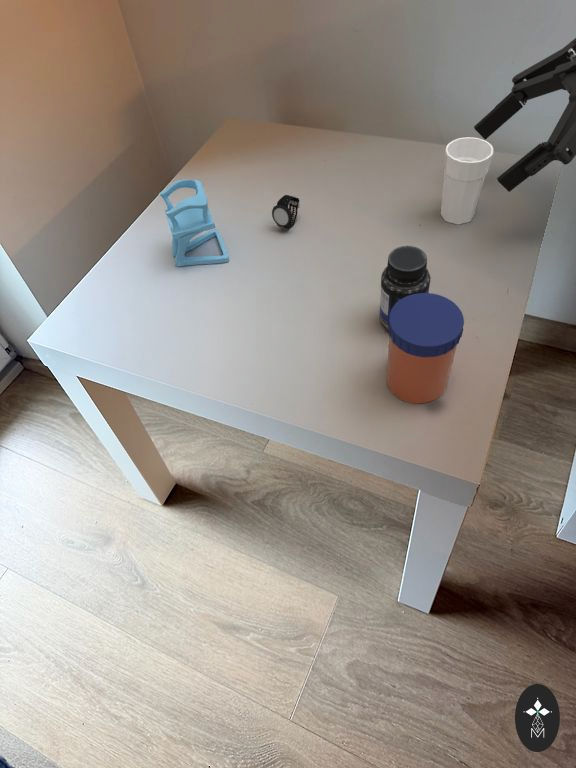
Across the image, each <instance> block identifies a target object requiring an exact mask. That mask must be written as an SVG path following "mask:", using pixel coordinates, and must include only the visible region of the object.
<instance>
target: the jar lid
mask: <svg viewBox="0 0 576 768" xmlns="http://www.w3.org/2000/svg"><path fill="white" fill-rule="evenodd" d="M464 324H465V319H464V315H463V312H462V310H461V308H460V307H459V306H458V305H457V304H456V303H455V302H454V301H453V300H451V299H449V298H447V297H446V296H442V295H440V294H437V293H432V292H429V293H417V294H412V295H409V296H406V297H404V298H402V299H401V300H399V301H398V302H397V303H396V304H395V305H394V306H393V308H392V310H391V312H390V315H389V321H388V329H389V331H388V336H389V337H390V338H391V340H392V341H393V343H394V344H395V345H396V346H397V347H398V348H399V349H401V350H402V351H404V352H406V353H407V354H411V355H414V356H418V357H426V358H427V357H437V356H440V355H443V354H446V353H447V352H449V351H451V350H453V348H454V347H455V346H456V345H457V346H458V344H459V343H460V340H461V338H462V336H463V332H464Z"/></svg>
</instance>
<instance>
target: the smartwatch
mask: <svg viewBox="0 0 576 768" xmlns="http://www.w3.org/2000/svg"><path fill="white" fill-rule="evenodd" d="M300 205H301V204H300V199H299V197H296V196H292V195H290V194H284V195H283V196H282V197H280V199H278V201H277V203H276V205H274V206H273V208H272V210H271V217H272V220H273V221H274V223H275V224H276V225H277V227H279V228H283V229H285V230H289V229H291V228H293V226H294V225H295V223H296V221H297V217H298V211H299V210H298V209H300Z"/></svg>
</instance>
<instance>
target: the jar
mask: <svg viewBox="0 0 576 768" xmlns="http://www.w3.org/2000/svg"><path fill="white" fill-rule="evenodd" d="M457 347H458V344H457V345H456V346H455V347H454V348H453V350H451V351H449V352H447V353H446V354H443V355H440V356H437V357H427V358H426V357H418V356H414V355H411V354H407V353H406V352H404V351H402V350H401V349H399V348H398V347H397V346H396V345H395V344H394V343H393V341H392V340H391V338H390V336H389V338H388V350H387V361H386V362H387V363H386V374H385V381H386V384H387V387H388V389H389V390H390V392H391V393H392V394H393V395H394V396H396V397H397V398H398V399H400V400H402V401H404V402H407V403H410V404H427V403H431V402H434V401H436V400H437V399H439V398H440V397H441V396H442V395H443V394H444V393H445V391H446V389H447V387H448V383H449V379H450V376H451V371H452V367H453V363H454V358H455V354H456V350H457Z"/></svg>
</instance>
